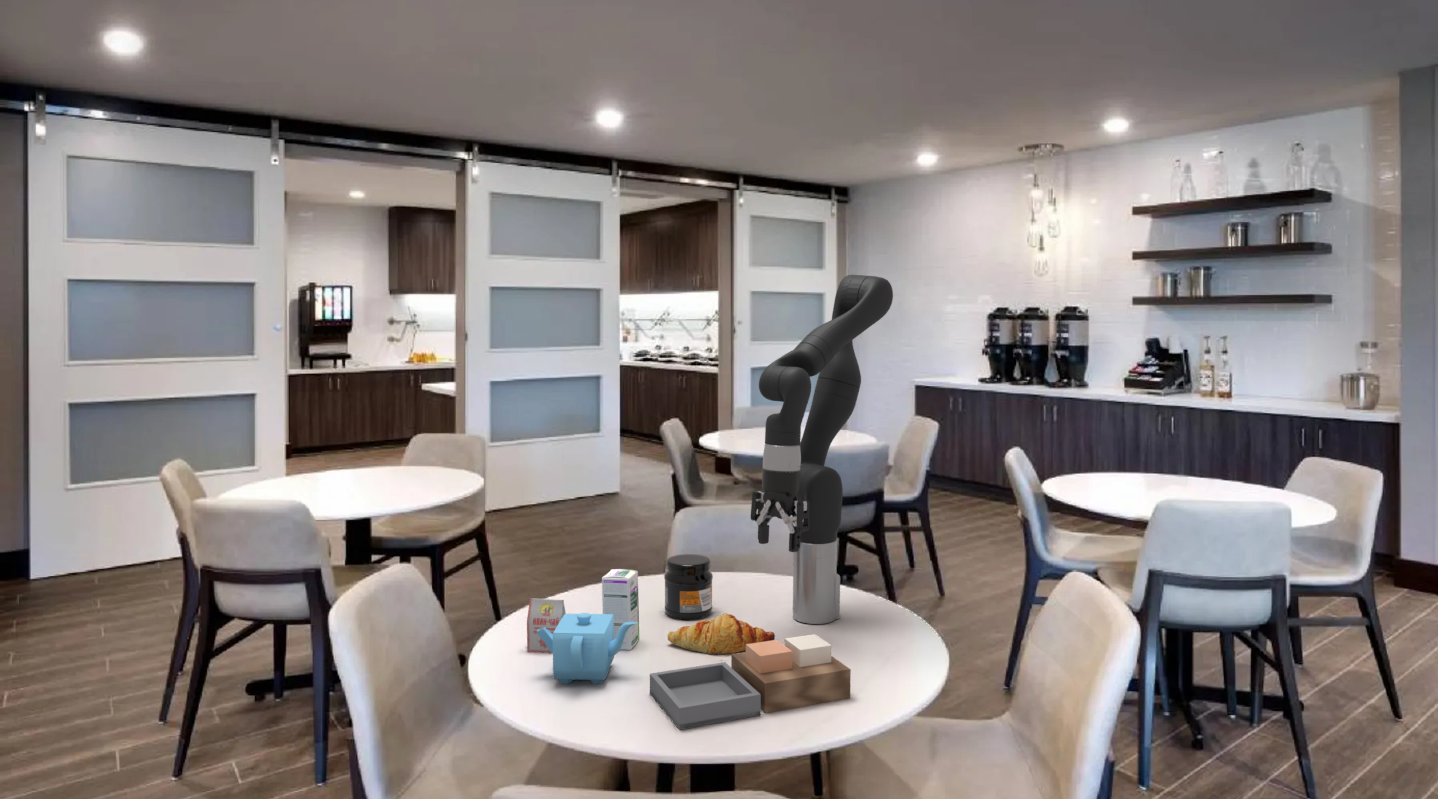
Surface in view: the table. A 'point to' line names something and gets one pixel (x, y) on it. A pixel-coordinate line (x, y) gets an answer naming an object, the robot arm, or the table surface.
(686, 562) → the supplement container
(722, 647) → the croissant
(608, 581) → the syrup box
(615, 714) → the table surface
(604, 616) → the teapot
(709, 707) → the box
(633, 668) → the table surface
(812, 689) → the wood grain slab
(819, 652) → the cream tile
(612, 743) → the table surface
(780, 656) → the terracotta tile
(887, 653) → the table surface
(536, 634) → the tea bag
